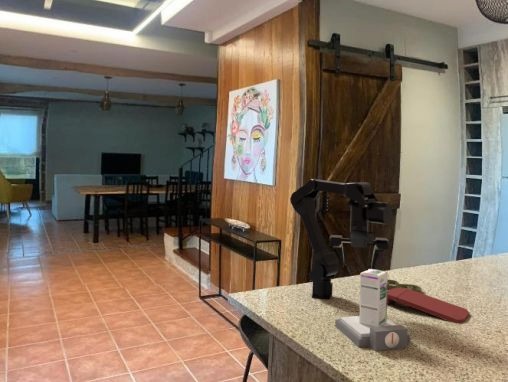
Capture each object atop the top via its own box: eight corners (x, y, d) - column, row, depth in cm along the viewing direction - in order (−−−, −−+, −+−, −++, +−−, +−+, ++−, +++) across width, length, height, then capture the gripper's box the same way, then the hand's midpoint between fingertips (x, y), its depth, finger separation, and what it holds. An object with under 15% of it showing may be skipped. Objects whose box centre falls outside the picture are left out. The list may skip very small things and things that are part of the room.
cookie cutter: (368, 289, 161) (368, 284, 161) (378, 282, 171) (378, 277, 171) (417, 299, 151) (417, 293, 151) (425, 290, 161) (425, 285, 161)
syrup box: (378, 328, 114) (380, 275, 113) (358, 323, 118) (360, 271, 117) (386, 322, 119) (388, 271, 118) (366, 317, 122) (368, 268, 121)
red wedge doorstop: (467, 324, 137) (392, 296, 152) (471, 310, 136) (395, 283, 151) (458, 336, 128) (379, 305, 143) (462, 321, 127) (382, 291, 142)
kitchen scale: (335, 326, 123) (335, 309, 123) (381, 322, 127) (382, 306, 127) (365, 353, 106) (366, 333, 106) (417, 347, 110) (418, 328, 110)
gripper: (328, 222, 133) (327, 271, 134) (391, 225, 129) (389, 276, 130) (330, 218, 144) (329, 263, 145) (388, 221, 139) (386, 267, 140)
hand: (357, 268), depth 140 cm, fingers open, 9 cm apart
